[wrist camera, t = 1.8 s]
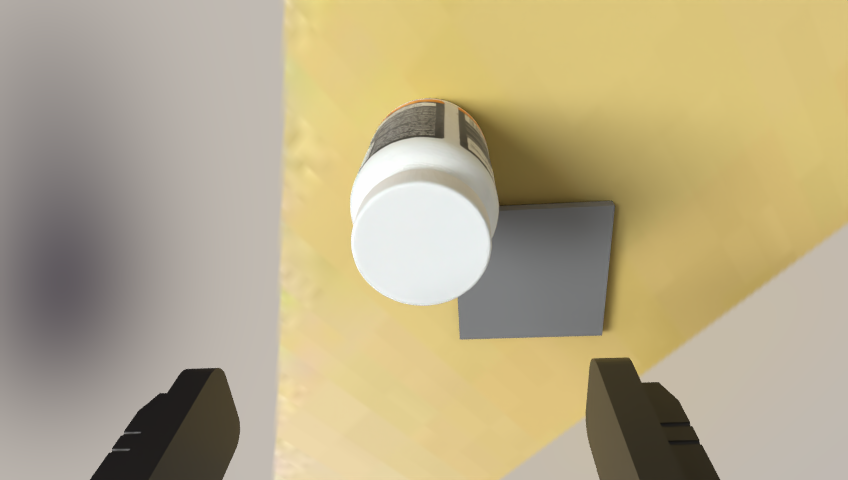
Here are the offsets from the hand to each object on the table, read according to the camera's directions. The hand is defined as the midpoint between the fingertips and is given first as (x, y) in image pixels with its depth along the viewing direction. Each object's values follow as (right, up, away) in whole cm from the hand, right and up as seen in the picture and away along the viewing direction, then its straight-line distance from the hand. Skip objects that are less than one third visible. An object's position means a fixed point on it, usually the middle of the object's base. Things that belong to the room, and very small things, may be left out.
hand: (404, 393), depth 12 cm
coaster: (+6, +2, +17) cm, 19 cm away
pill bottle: (+1, +8, +15) cm, 17 cm away
